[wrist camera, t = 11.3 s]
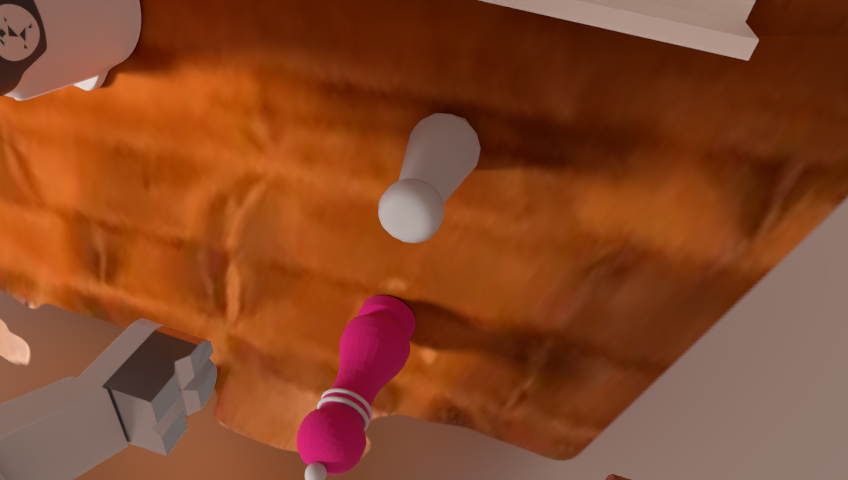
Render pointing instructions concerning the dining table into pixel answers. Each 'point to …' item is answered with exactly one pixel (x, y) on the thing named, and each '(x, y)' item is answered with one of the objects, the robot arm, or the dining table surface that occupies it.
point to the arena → (660, 20)
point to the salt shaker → (429, 176)
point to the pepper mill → (356, 386)
